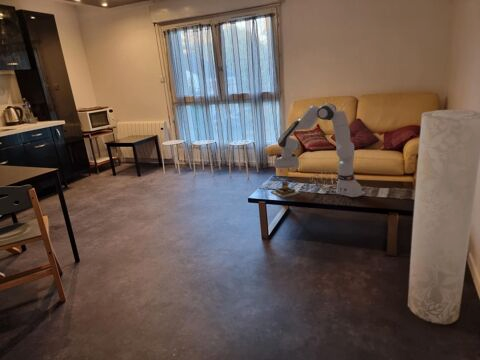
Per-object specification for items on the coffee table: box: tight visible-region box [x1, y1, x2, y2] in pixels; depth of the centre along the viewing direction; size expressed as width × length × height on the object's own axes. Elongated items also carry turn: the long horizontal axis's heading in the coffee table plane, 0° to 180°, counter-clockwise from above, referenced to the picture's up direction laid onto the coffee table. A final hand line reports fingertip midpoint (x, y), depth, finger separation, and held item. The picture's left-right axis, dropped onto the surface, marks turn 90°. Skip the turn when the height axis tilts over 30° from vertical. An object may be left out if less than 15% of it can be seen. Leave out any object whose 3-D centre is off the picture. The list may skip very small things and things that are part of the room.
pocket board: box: [270, 186, 301, 199], centre depth 273 cm, size 17×17×3 cm
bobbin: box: [281, 181, 289, 192], centre depth 272 cm, size 6×6×8 cm
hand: (286, 171), depth 276 cm, fingers open, 8 cm apart
